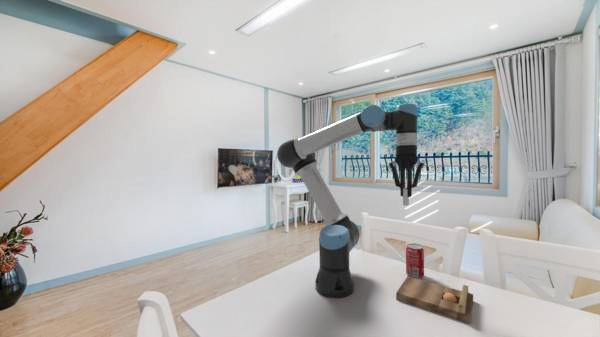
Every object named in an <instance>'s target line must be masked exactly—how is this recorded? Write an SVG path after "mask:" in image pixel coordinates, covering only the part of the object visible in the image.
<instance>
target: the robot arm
mask: <svg viewBox="0 0 600 337" xmlns="http://www.w3.org/2000/svg"><path fill="white" fill-rule="evenodd" d="M385 131H396V132H395V144H396V146H395V157H394V160H393V161H392V162H389V163H388V166H389V167H390V169H391V173H392V177H393V180H394V184H395V187H398V188H400V197H402V206H405V207H406V206H407V207H408V206H409V204H410V198H411V197H412V195H413V193H412V192H413V191H412V189H413V188H416V187H417V186H418V184H419V179H420V177H421V172H422V170H423V168H424V167H425V163H424V162H422V161H420V160H419V158H418V145H416V144H417V143H418V107H417V105H416V104H414V103H403V104H399V105H396V108H395V110H392V111H385V110H384V109H383V108H382V107H380V106H379V105H376V104H369V105H367V106H365V107H364V108H363V109H362V110H361V111H360V112H358V113H355V114H353V115H350V116H349V117H346V118H344V119H342V120H339V121H336V122H335V123H332V124H330V125H328V126H326V127H323V128H321V129H319V130H316V131H315V132H312V133H309V134H307V135H304V136H303V137H297V136H296V137H294V138H292V139H290V140H288V141H285V142H283V143H282V144H280V146H279V147H278V149H277V154H276V156H277V157H276V158H277V159H278V162H279V163H280V165H282V166H284V167H286V168H289V169H292V170H293V172H294V173H295V175H296V176H299V177H300V178H301V179H302V181H303V183H304V186H305V188H306V189H307V190H308V193H309V194H310V196H311V198H312V200H313V202H314V204H315V206H316V207H317V209H318V211H319V212H320V214H321V216H322V218H323V220H324V222H325V223H324V227H322V228H321V229H320V231H319V237H318V242H319V243H318V245H319V246H318V248H319V250H318V252H319V268H318V272H317V274H316V276H315V280H314V281H315V283H314V284H315V286H314V287H315V289H316V291H317V293H319V294H321V295H323V296H326V297H328V298H338V299H339V298H345V297H348V296H351V295H352V294H353V293H354V291H355V282H354V279H353V276H352V273H351V270H350V253H351V251H352V249H353V248H354V247H355V246H356V245H357V244H358V242H359V240H360V234H361V233H360V229H359V227H358V225H357V224H356V222H354V221H352V220H351V219H350V218H349V216H348V214H346V213H343V211H342V210H341V208H340V206H339V205H338V203H337V201H336V200H335V198H334V196H333V194H332V193H331V191H330V189H329V188H328V186H327V183H326V182H325V180H324V178H323V177H322V174H321V173H320V171H319V170H318V167H317V166H318V162H317V159H316V152H319V151H321V150H324V149H327V148H329V147H332V146H334V145H336V144H338V143H342V142H344V141H347V140H348V139H352V138H353V137H356V136H358V135H361V134H363V133H366V132H368V133H369V132H373V133H375V132H385ZM415 165H416V166H417V167H416V170H415V174H414V178H413V168H414V167H415ZM397 166H398V167H399V173H398V169H397ZM406 172H407V173H406ZM406 180H407V181H406ZM406 184H407V185H406Z"/></svg>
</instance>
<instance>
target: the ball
mask: <svg viewBox="0 0 600 337" xmlns="http://www.w3.org/2000/svg"><path fill="white" fill-rule="evenodd" d="M443 300H446V301H450V302H453V303H456V302H457V300H456V297H455V296H454V295H453V294H451V293H445V294H444V295H443ZM456 304H457V303H456Z"/></svg>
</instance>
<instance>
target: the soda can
mask: <svg viewBox="0 0 600 337" xmlns="http://www.w3.org/2000/svg"><path fill="white" fill-rule="evenodd" d="M423 247H424V246H423V245H421V244H418V243H408V244H407V245H406V247H405V273H406V275H407V276H408V277H411V278H415V279H419V280H422V278H424V276H425V250H424V248H423Z"/></svg>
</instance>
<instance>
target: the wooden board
mask: <svg viewBox="0 0 600 337" xmlns="http://www.w3.org/2000/svg"><path fill="white" fill-rule="evenodd" d="M445 293H451V294H453V295H454V296H455V297H456V300H457V302H456V303H453V302H450V301H446V300H443V295H444V294H445ZM395 296H396V299H395V300H398V301H401V302H403V303H406V304H408V305H411V306H415V307H417V308H421V309H424V310H427V311H431V312H434V313H437V314H439V315H442V316H445V317H449V318H451V319H455V320H457V321H460V322H463V323H467V324H471V322H472V321H471V320H472V313H473V306H474V294H473V293H471V292H469V285H466V284H463V285H462V288H461V290H459V289H455V288H451V287H448V286H443V285H441V284H437V283H434V282H433V283H432V282H430V281H425V280H422V279H415V278H411V277H409V276H408V275H407V277H406V278H405V279H404V281H403V282H402V283H401V285H400V286H399V288H398V289H397V291H396V295H395Z"/></svg>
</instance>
